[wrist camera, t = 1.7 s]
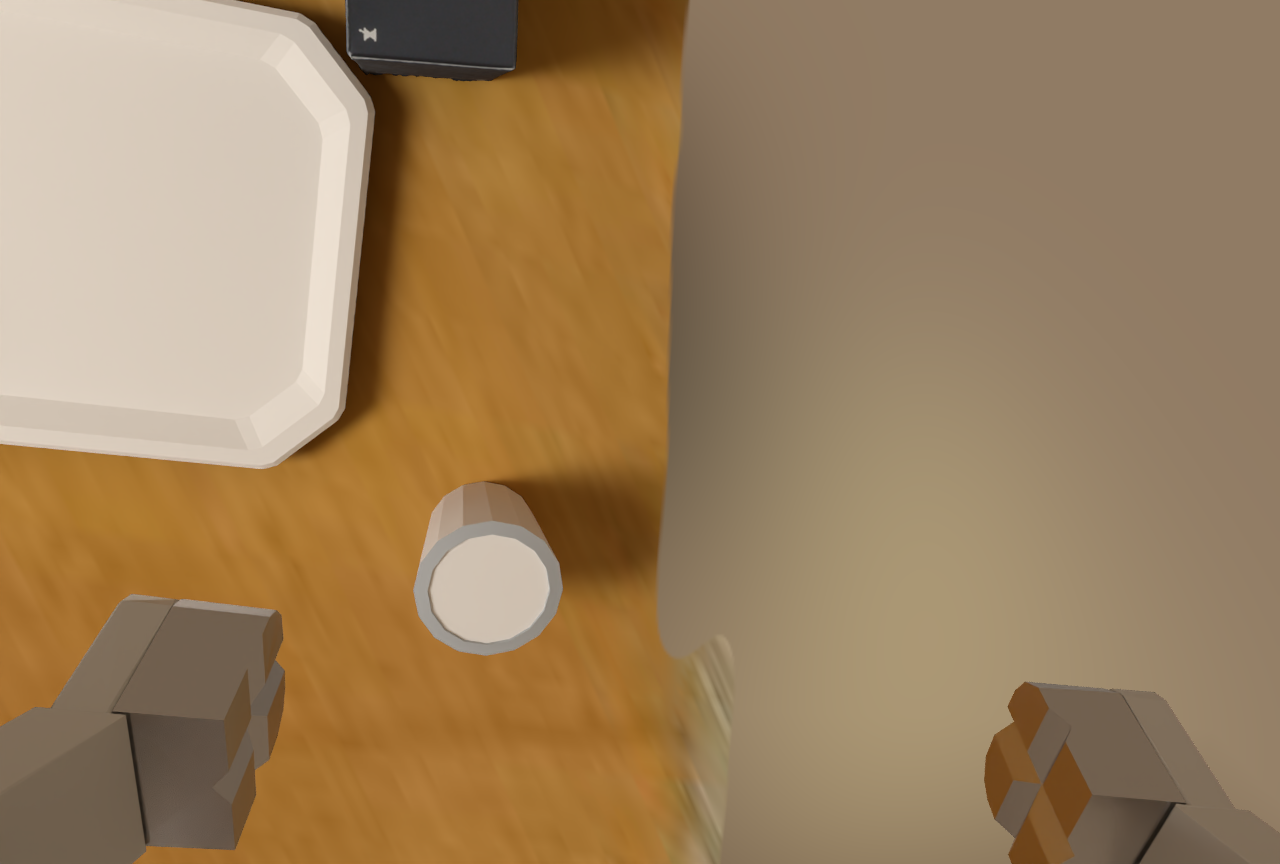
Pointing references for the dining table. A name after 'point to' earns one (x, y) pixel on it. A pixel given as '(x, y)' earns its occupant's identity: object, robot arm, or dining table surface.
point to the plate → (176, 228)
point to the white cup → (486, 572)
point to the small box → (433, 37)
